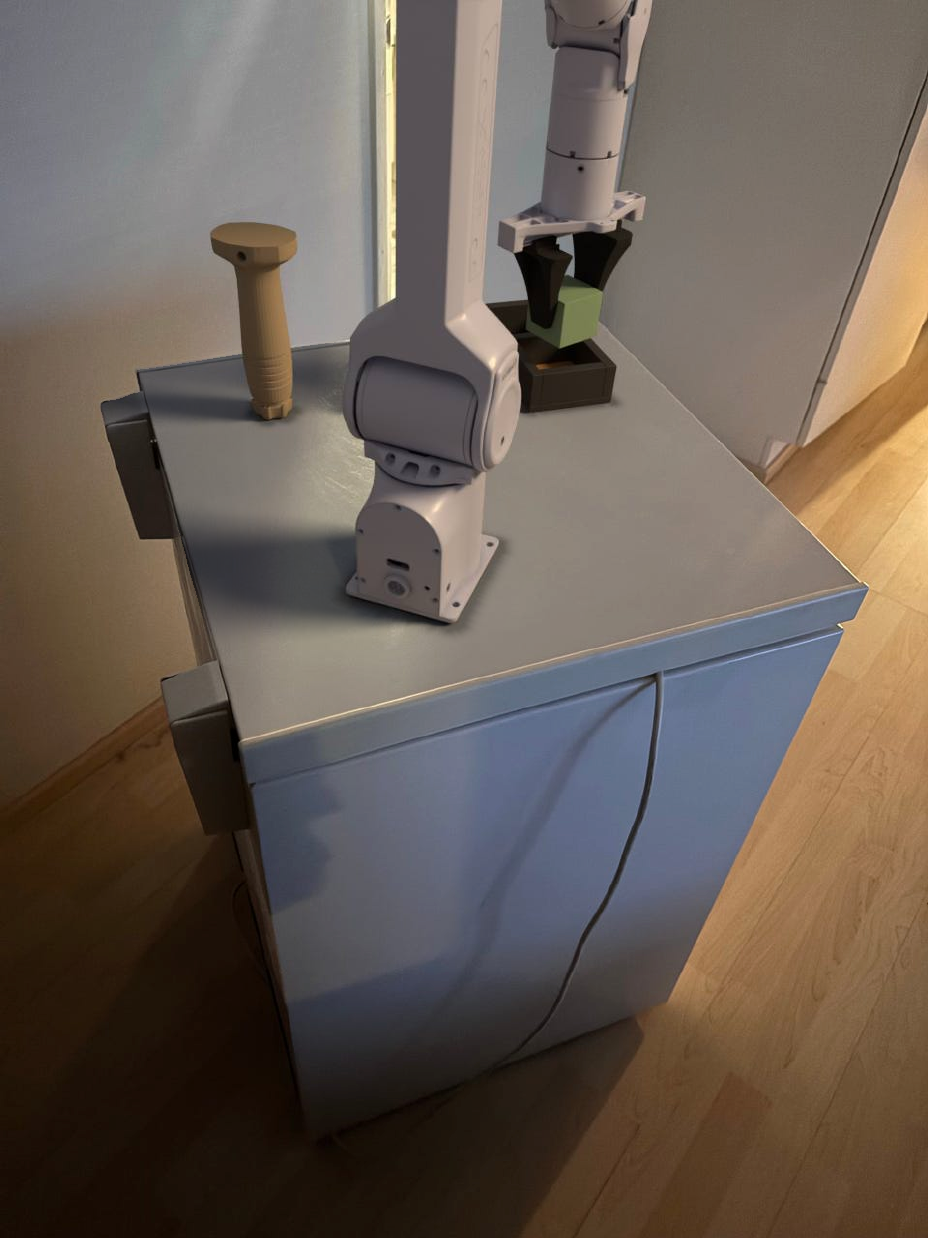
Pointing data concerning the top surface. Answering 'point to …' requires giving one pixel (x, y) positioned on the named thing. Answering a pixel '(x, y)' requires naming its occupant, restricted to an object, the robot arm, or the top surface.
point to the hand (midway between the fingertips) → (562, 317)
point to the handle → (261, 308)
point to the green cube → (571, 314)
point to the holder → (555, 365)
